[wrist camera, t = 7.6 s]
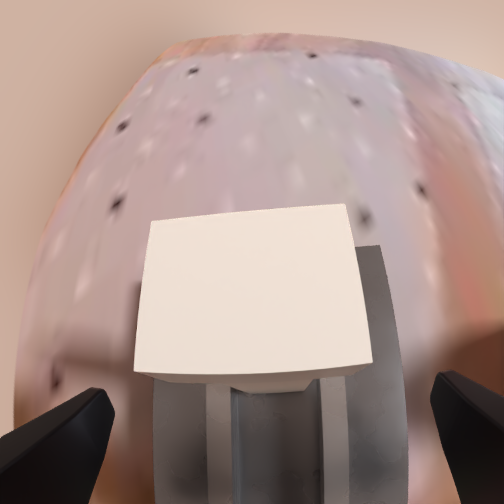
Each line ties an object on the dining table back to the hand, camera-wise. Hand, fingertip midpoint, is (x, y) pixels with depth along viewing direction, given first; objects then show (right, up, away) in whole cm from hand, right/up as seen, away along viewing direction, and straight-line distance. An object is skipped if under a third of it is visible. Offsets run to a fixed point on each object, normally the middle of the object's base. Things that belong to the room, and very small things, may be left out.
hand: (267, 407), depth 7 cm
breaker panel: (+1, -5, +8) cm, 10 cm away
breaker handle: (+1, -1, +6) cm, 6 cm away
